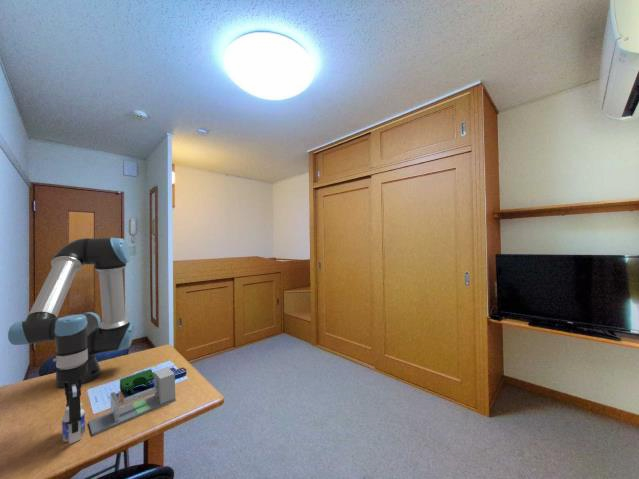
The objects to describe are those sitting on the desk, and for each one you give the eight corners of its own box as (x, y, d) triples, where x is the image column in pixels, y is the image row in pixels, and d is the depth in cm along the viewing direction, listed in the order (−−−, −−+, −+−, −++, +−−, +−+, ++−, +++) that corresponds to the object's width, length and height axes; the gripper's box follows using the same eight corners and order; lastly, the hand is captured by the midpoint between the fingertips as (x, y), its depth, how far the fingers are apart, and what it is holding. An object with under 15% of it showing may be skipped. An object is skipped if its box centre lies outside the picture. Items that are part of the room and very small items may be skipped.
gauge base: (88, 423, 92) (87, 393, 92) (168, 391, 110) (167, 366, 110) (92, 436, 86) (91, 404, 86) (175, 400, 104) (175, 374, 104)
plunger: (110, 412, 96) (110, 393, 96) (155, 395, 106) (155, 377, 106) (114, 421, 91) (114, 401, 91) (161, 402, 101) (160, 383, 101)
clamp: (128, 405, 109) (118, 391, 105) (125, 396, 113) (115, 382, 109) (159, 383, 116) (151, 369, 112) (154, 375, 120) (146, 362, 116)
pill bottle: (65, 445, 82) (65, 414, 82) (60, 438, 85) (59, 408, 85) (88, 434, 87) (87, 404, 87) (81, 427, 90) (81, 399, 90)
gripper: (54, 359, 90) (56, 427, 90) (57, 379, 77) (59, 459, 77) (84, 352, 95) (85, 416, 95) (91, 369, 82) (93, 444, 82)
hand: (73, 435), depth 86 cm, fingers open, 6 cm apart
